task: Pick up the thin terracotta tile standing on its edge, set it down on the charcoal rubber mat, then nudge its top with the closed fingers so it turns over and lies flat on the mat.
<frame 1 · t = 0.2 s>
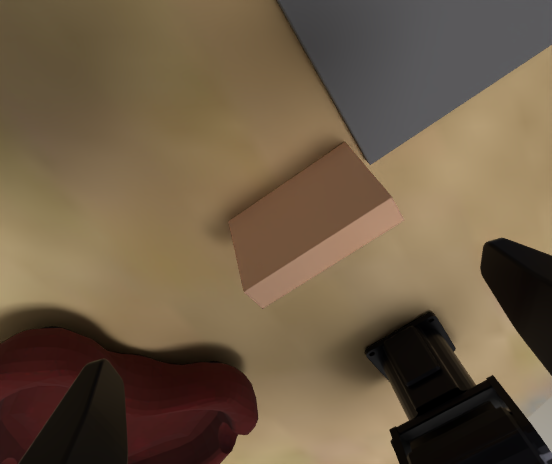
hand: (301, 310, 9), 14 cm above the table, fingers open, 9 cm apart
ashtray: (112, 391, 31), on the table
tile: (291, 191, 24), on the table
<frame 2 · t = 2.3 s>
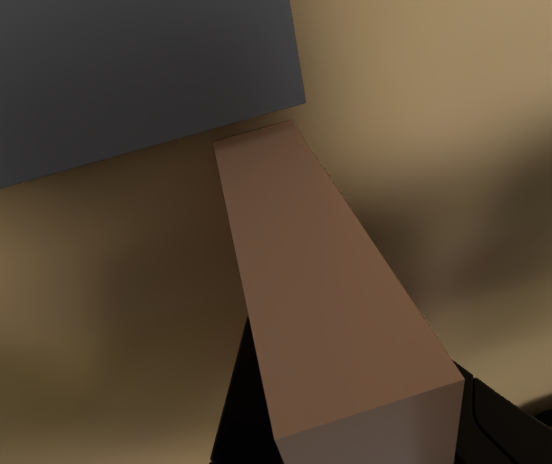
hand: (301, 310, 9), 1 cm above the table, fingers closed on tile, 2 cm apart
tile: (289, 275, 10), on the table, touching gripper
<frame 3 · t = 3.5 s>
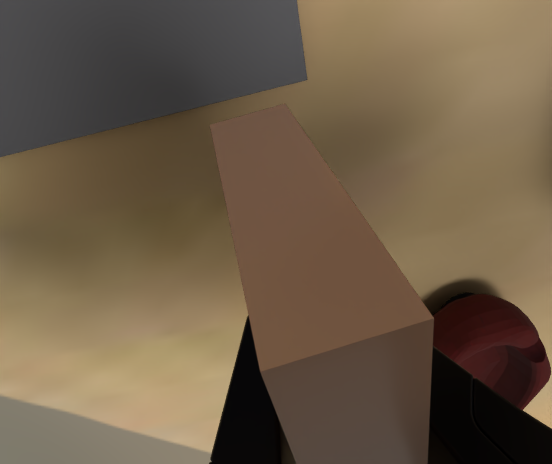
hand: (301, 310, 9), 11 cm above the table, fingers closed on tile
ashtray: (408, 369, 33), on the table
tile: (284, 258, 11), point 10 cm above the table, touching gripper
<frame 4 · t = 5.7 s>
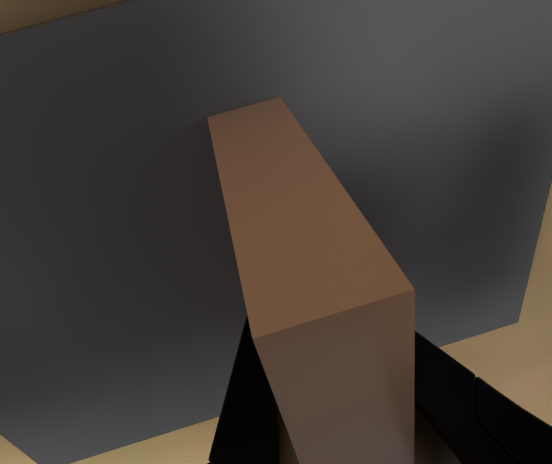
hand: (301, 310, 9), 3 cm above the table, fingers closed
tile: (280, 249, 11), point 1 cm above the table, touching mat
mat: (241, 252, 12), on the table
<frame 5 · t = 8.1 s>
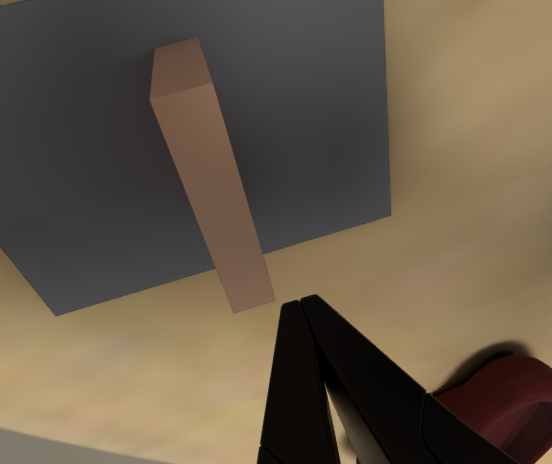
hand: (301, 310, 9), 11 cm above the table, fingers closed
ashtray: (449, 410, 38), on the table
tile: (208, 142, 17), point 1 cm above the table, touching mat
mat: (185, 147, 18), on the table
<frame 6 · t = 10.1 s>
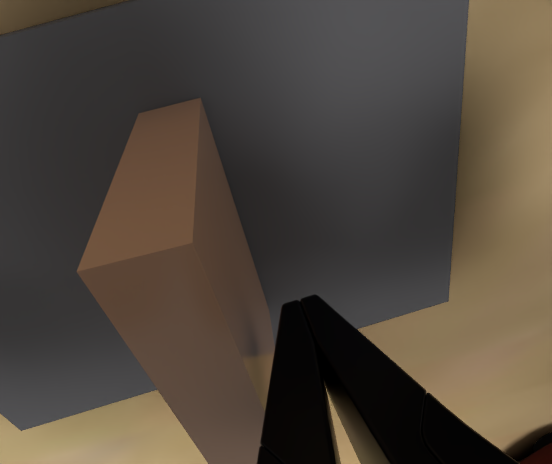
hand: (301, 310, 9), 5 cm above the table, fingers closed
tile: (216, 229, 13), point 1 cm above the table, touching gripper, mat
mat: (184, 232, 13), on the table
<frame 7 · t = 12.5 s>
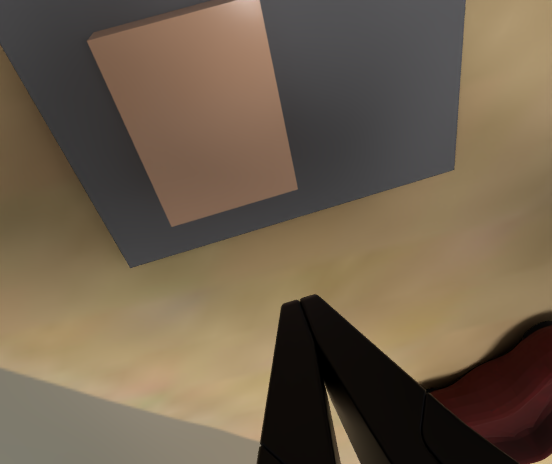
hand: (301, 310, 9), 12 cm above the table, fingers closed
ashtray: (488, 383, 39), on the table
tile: (276, 99, 17), point 1 cm above the table, tilted 90°, touching mat
mat: (266, 95, 18), on the table
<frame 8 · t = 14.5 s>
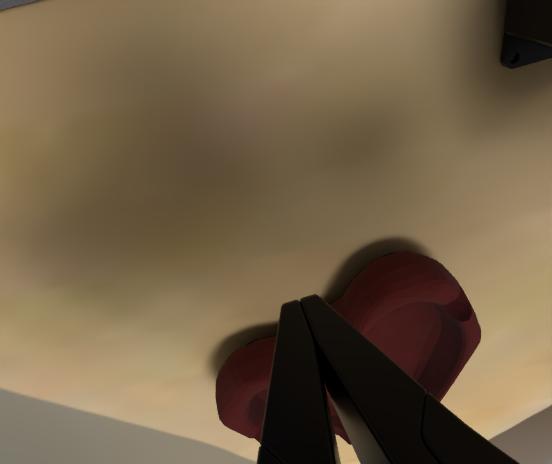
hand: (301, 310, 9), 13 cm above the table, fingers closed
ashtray: (347, 338, 32), on the table
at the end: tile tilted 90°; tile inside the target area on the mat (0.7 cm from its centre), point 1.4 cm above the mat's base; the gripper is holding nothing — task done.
